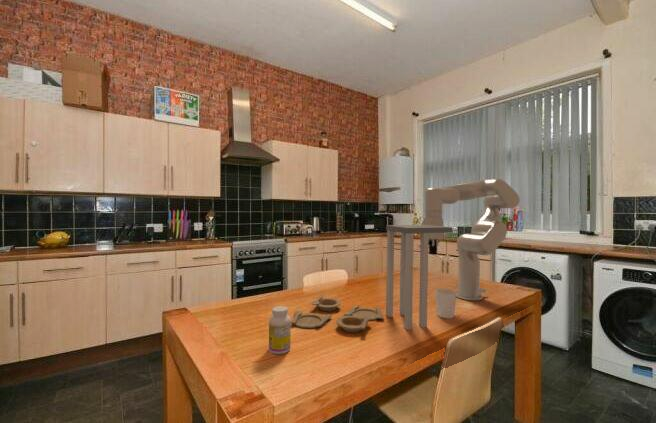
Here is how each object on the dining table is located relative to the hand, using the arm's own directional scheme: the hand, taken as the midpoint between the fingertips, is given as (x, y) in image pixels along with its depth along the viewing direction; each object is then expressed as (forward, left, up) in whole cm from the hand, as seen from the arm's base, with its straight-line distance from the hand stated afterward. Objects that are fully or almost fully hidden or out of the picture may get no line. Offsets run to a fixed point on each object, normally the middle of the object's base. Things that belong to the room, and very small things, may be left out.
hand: (432, 254), depth 138 cm
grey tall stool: (+20, +15, -23) cm, 34 cm away
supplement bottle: (+76, +23, -23) cm, 82 cm away
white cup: (+6, +15, -23) cm, 28 cm away
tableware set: (+49, +4, -24) cm, 54 cm away
